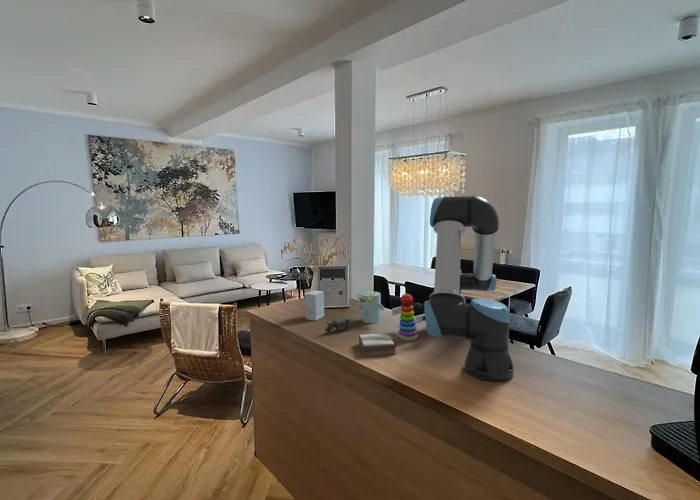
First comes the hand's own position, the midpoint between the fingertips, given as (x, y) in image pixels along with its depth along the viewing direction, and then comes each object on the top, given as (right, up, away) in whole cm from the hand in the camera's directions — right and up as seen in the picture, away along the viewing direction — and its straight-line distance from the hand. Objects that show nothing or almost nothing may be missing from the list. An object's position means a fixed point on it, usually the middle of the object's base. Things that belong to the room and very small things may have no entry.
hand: (403, 315), depth 146 cm
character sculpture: (-13, -7, +26) cm, 30 cm away
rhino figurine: (-28, -10, +12) cm, 32 cm away
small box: (-40, -7, +33) cm, 52 cm away
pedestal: (-12, -11, -8) cm, 18 cm away
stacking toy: (+2, -10, +2) cm, 10 cm away
